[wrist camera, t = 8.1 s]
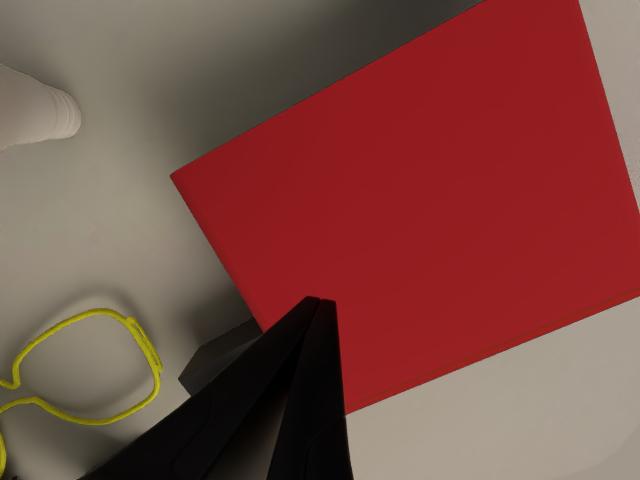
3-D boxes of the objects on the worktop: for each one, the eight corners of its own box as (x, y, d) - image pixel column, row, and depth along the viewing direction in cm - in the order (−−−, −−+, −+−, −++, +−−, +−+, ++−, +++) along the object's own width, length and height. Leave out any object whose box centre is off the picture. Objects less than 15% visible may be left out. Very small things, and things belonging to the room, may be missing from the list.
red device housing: (505, 8, 17) (577, -51, 12) (586, 252, 20) (670, 283, 15) (204, 172, 19) (162, 177, 14) (317, 368, 22) (314, 427, 17)
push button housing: (345, 410, 23) (350, 479, 18) (271, 445, 24) (257, 520, 19) (275, 305, 21) (259, 350, 16) (198, 347, 22) (161, 402, 17)
